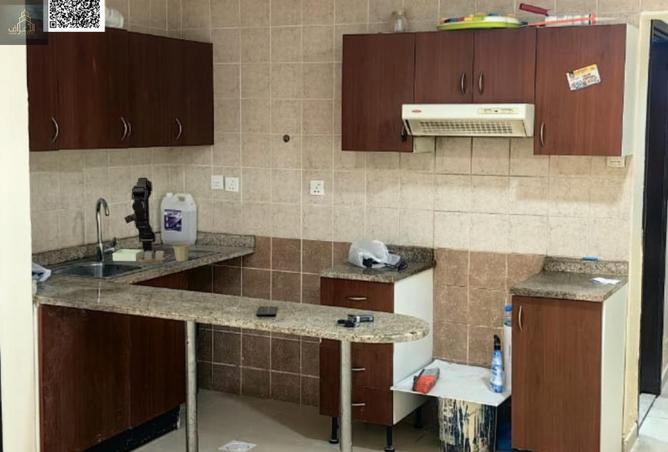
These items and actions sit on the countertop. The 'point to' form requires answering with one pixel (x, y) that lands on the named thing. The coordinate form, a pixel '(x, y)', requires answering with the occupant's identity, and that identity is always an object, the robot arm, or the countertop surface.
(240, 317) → the countertop surface
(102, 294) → the countertop surface
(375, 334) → the countertop surface
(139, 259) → the tray
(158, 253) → the pebble
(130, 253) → the bin
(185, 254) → the flower pot
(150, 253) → the pebble
